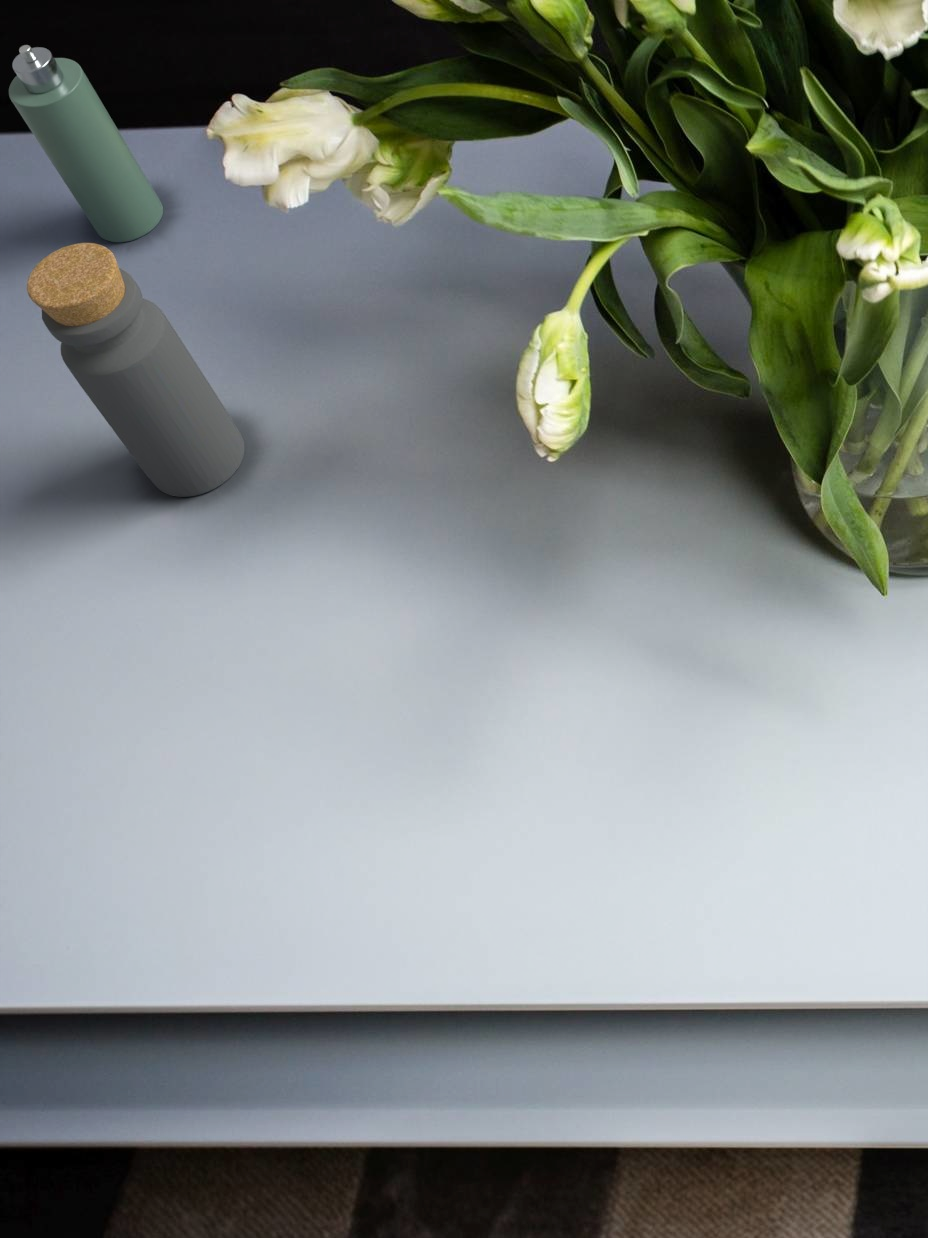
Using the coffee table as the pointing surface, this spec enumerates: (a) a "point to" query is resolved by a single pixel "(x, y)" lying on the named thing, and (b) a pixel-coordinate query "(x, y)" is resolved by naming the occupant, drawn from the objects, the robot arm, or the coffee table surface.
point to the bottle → (136, 370)
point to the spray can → (84, 145)
